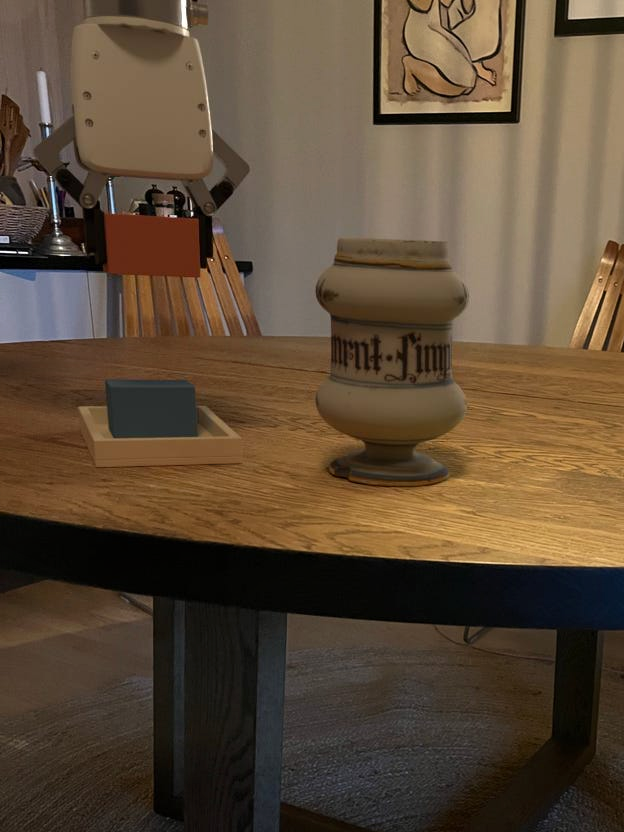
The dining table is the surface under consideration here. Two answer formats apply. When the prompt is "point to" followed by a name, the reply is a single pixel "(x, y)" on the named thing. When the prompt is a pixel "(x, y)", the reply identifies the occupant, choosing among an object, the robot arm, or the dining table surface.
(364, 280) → the apothecary jar
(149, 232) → the red block
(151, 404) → the blue-gray block
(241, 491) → the dining table surface
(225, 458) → the wooden tray
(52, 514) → the dining table surface
